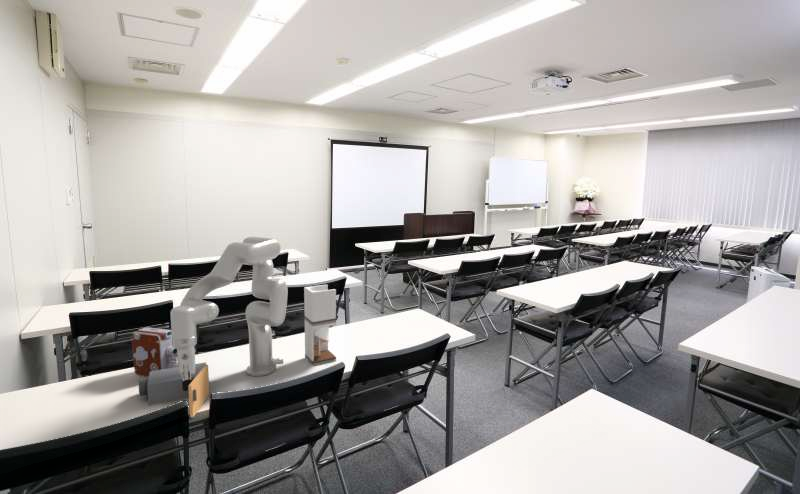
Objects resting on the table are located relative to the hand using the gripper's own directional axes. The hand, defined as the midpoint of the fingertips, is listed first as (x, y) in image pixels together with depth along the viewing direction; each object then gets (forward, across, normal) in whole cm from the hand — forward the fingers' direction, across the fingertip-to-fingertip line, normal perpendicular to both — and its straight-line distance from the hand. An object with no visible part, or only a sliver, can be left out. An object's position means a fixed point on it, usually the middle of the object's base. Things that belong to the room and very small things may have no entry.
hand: (187, 389), depth 143 cm
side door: (+9, +3, -4) cm, 10 cm away
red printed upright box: (+9, +38, +12) cm, 40 cm away
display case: (+9, +24, -55) cm, 61 cm away
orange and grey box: (+9, +18, +5) cm, 20 cm away
